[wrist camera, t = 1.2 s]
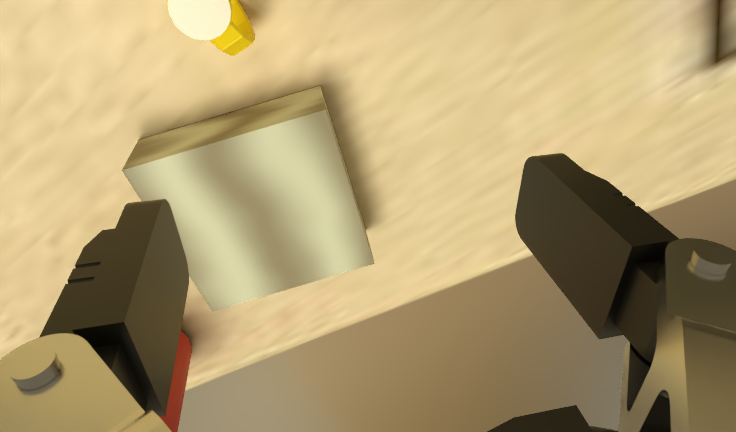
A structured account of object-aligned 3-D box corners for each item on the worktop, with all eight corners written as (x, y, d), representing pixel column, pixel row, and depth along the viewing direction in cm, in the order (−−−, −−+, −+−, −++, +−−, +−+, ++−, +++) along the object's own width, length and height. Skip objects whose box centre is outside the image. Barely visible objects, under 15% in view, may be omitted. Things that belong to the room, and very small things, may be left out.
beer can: (180, 374, 43) (152, 518, 33) (100, 361, 40) (45, 512, 31) (203, 325, 40) (180, 467, 30) (118, 307, 37) (63, 455, 28)
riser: (320, 85, 30) (325, 109, 27) (365, 230, 37) (374, 263, 34) (138, 140, 30) (122, 170, 27) (217, 274, 37) (212, 311, 34)
